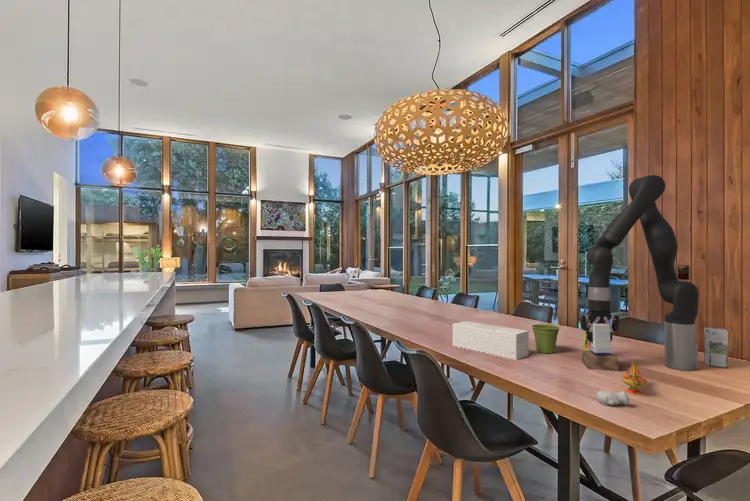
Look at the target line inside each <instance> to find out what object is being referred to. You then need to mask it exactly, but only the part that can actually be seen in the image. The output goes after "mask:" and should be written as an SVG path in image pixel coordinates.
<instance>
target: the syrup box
mask: <svg viewBox="0 0 750 501" xmlns="http://www.w3.org/2000/svg"><path fill="white" fill-rule="evenodd" d="M703 330H704V332H703V334H704V335H703V336H704V339H703V341H704V342H703V344H704V346H703V347H704V349H703V350H704V351H703V353H704V354H703V358H704V359H703V362H704V363H705V365H707V366H708V367H714V368H723V369H724V368H725V369H726V368H728V361H729V358H728V357H729V355H728V354H729V348H728V347H729V344H728V343H729V331H728V330H727V329H725V328H723V327H706V326H705V327H704V329H703Z"/></svg>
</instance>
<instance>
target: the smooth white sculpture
mask: <svg viewBox="0 0 750 501" xmlns="http://www.w3.org/2000/svg"><path fill="white" fill-rule="evenodd" d="M596 398H597V400H598V402H599V403H600V404H602V405H605V406H614V405H620V404H622V405H623V406H627V405H628V404H629V403H630V398H629V393H627V392H626V391H625V390H621V391H619V392H611V391H610V390H603V389H601V390H599V391H597V393H596Z"/></svg>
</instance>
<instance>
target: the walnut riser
mask: <svg viewBox="0 0 750 501" xmlns="http://www.w3.org/2000/svg"><path fill="white" fill-rule="evenodd" d="M581 363H582V364H583V365H584V366H585V367H586V368H587V370H598V371H608V370H609V371H608V372H618V371H619V358H618V357H617V356H615V355H614V354H613V353H612V352H611V354H594V353H593V352H591V351H588V350H583V349H581Z"/></svg>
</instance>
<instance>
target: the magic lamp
mask: <svg viewBox="0 0 750 501" xmlns="http://www.w3.org/2000/svg"><path fill="white" fill-rule="evenodd" d="M621 380H622V383H623V384H625V385H626V386H628V387H629V388H625V389H624V392H626V393H627V394H630V395H636V396H642V395H645V392H643V391H642V390H640V388H644V387H646V386H647V385H648V379H646V378H645V377H644V376H643V375H642V374H641V372H640V368H639V364H638V363H636V362H635V361H633V362H631V367H630V370H629V372H628V373H627V374H624V375H622V376H621Z"/></svg>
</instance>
